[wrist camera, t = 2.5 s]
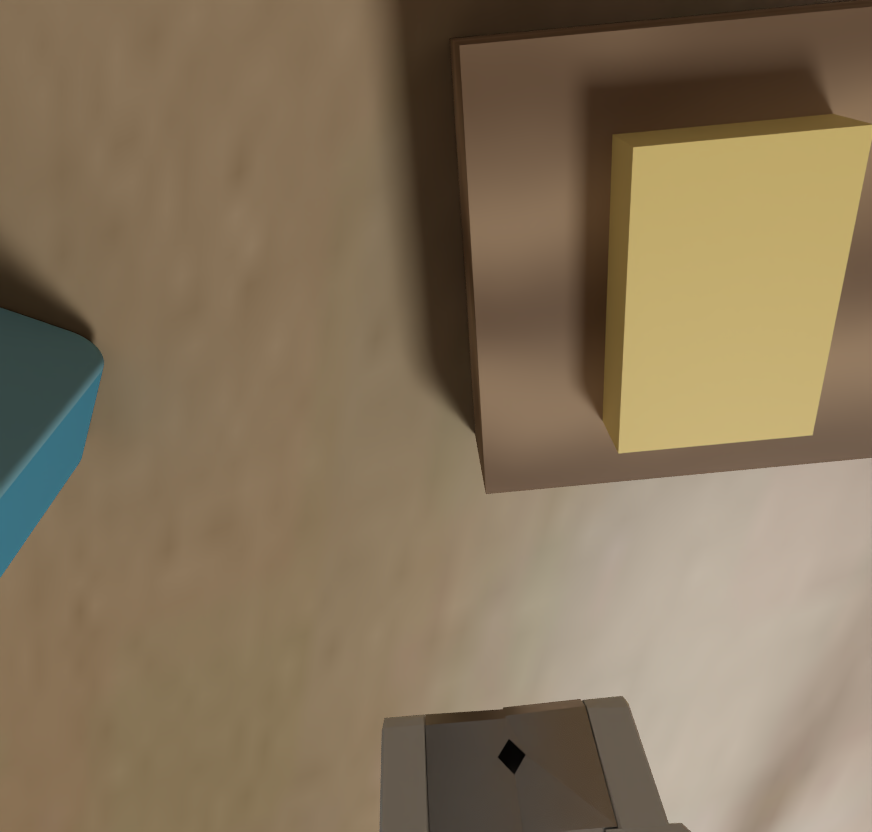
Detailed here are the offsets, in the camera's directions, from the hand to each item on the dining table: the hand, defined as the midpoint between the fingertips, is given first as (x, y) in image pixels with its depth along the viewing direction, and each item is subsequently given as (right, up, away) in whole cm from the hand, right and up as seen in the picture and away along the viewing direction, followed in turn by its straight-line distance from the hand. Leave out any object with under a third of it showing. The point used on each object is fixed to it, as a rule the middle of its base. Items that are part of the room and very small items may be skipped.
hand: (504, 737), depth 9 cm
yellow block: (+7, +8, +13) cm, 17 cm away
